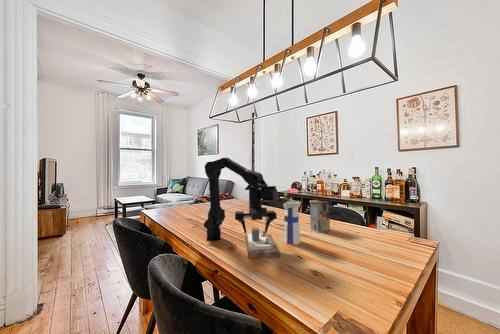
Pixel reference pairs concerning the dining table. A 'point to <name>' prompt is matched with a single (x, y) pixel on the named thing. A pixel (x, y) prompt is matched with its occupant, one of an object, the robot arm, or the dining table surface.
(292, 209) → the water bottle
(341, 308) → the dining table surface
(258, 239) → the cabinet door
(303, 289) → the dining table surface
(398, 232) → the dining table surface
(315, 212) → the coffee box
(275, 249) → the peg board
